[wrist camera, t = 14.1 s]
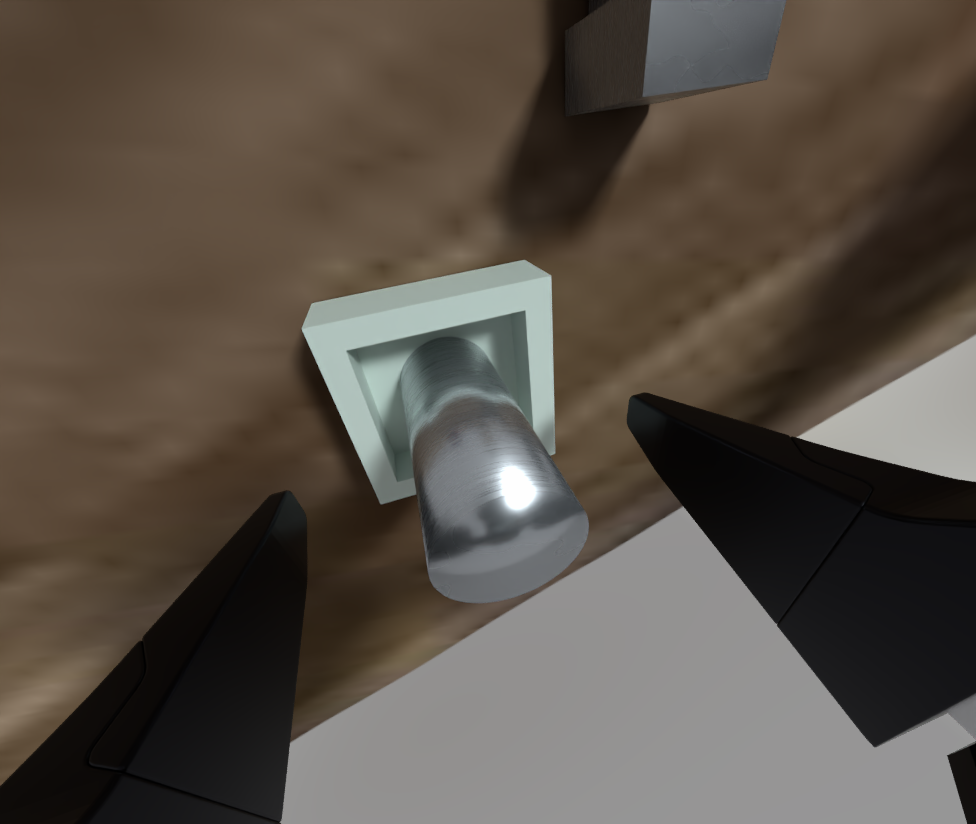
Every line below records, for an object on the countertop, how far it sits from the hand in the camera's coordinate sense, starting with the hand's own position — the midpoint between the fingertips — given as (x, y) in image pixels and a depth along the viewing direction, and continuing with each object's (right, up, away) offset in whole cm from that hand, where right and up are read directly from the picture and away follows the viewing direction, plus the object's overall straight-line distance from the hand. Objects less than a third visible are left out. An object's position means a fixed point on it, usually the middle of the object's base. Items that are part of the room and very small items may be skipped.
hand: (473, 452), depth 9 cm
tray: (-1, +2, +4) cm, 4 cm away
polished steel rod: (-1, +2, +3) cm, 4 cm away
